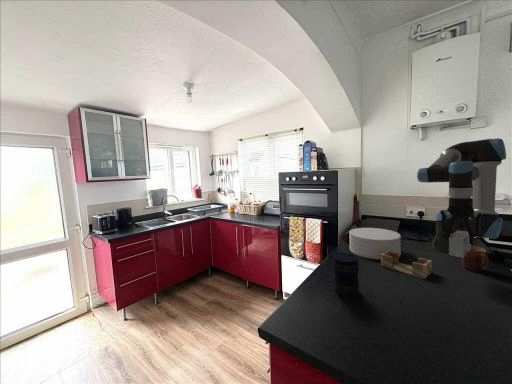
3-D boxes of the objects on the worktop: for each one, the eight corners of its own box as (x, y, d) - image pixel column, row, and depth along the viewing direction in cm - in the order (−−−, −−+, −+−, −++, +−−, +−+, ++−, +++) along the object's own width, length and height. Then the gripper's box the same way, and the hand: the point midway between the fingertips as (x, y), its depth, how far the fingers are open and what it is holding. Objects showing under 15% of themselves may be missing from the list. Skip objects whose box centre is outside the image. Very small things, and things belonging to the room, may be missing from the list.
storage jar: (348, 300, 82) (347, 263, 81) (329, 289, 91) (327, 256, 90) (364, 293, 87) (363, 258, 86) (344, 283, 96) (344, 251, 95)
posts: (388, 260, 116) (388, 250, 116) (431, 272, 101) (432, 260, 101) (380, 266, 111) (380, 254, 110) (425, 278, 95) (425, 266, 95)
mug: (455, 265, 107) (455, 245, 106) (476, 265, 105) (476, 245, 105) (474, 276, 95) (475, 254, 95) (498, 277, 94) (498, 254, 93)
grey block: (449, 254, 91) (449, 237, 90) (457, 246, 99) (457, 230, 99) (463, 257, 87) (463, 239, 87) (470, 249, 95) (470, 231, 95)
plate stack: (399, 247, 137) (399, 229, 136) (401, 263, 113) (401, 242, 112) (352, 241, 152) (352, 226, 151) (346, 255, 128) (345, 236, 127)
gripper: (432, 197, 96) (432, 246, 98) (489, 199, 82) (487, 256, 84) (437, 195, 101) (437, 242, 102) (491, 197, 86) (490, 251, 88)
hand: (460, 249), depth 93 cm, fingers closed on grey block, 4 cm apart
